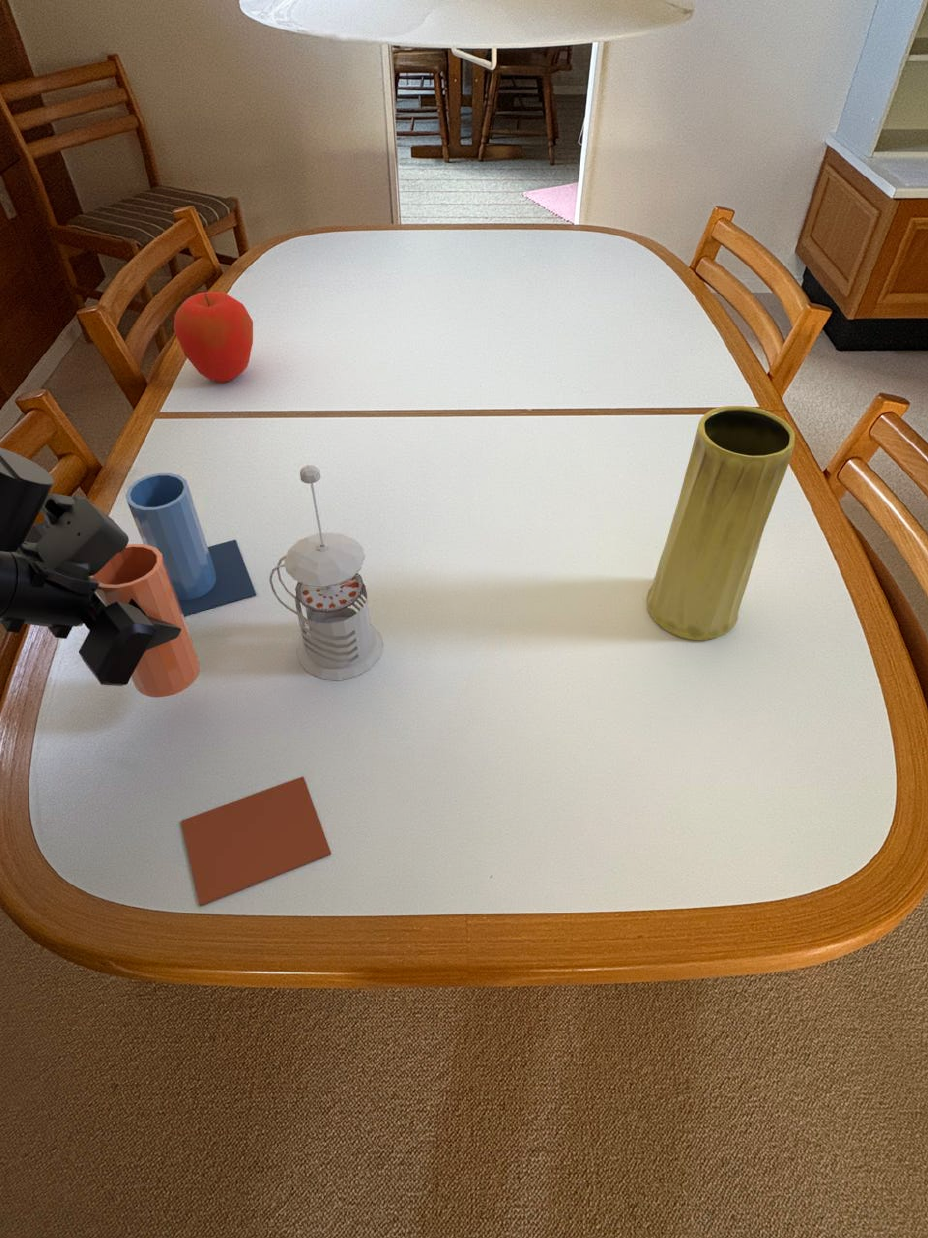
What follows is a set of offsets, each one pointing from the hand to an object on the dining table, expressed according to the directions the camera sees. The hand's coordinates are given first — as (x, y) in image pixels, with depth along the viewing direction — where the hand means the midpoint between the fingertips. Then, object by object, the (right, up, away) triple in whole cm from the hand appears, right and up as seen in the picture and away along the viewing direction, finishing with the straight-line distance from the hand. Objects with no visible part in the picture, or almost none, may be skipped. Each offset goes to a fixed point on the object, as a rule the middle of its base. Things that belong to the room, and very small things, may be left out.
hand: (161, 612), depth 76 cm
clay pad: (+10, -21, -3) cm, 24 cm away
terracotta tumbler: (-1, -6, +4) cm, 8 cm away
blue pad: (-4, +4, +21) cm, 21 cm away
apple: (-10, +40, +54) cm, 68 cm away
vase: (+57, 0, +18) cm, 60 cm away
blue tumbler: (-4, +4, +20) cm, 21 cm away
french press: (+14, -4, +14) cm, 20 cm away
